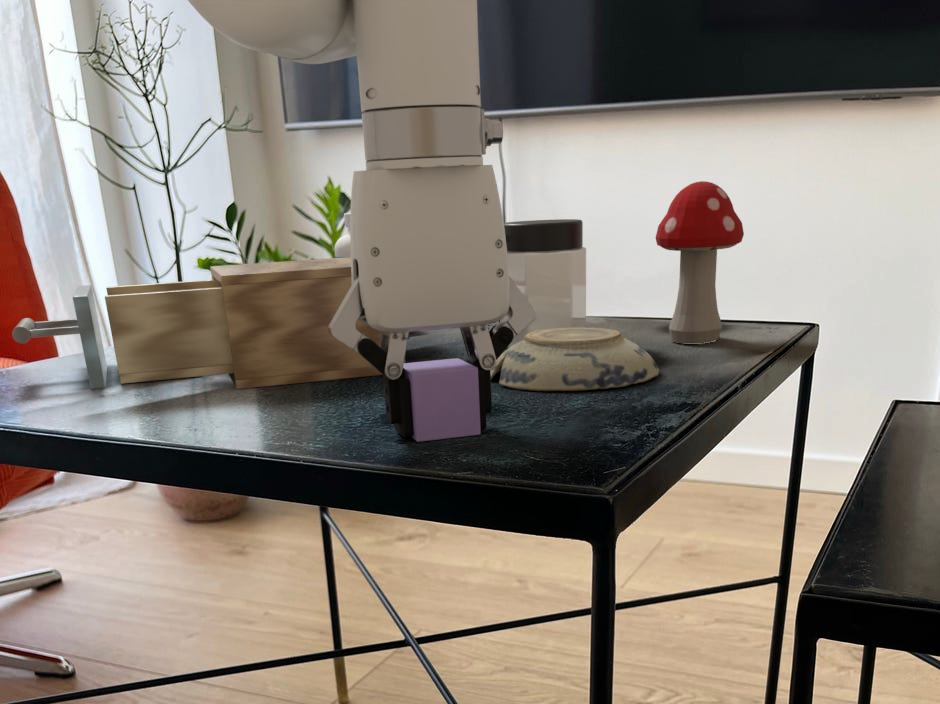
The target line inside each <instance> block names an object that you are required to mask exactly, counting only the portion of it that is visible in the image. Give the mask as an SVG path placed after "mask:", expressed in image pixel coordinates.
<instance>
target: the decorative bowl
mask: <svg viewBox="0 0 940 704" xmlns="http://www.w3.org/2000/svg"><path fill="white" fill-rule="evenodd" d="M499 370H501V371H500V375H499V376H500V378H499V381H498V385H500V386H504V387H506V388H508V389H509V388H510V389H515V390H520V391H521V390H522V391H532V392H560V391H561V392H566V391H568V392H578V391H580V392H582V391H590V390H593V391H595V390H598V389H600V390H607V389H610V388H612V389H613V388H623V387H627V386H631V385H637V384H641V383H645V382H648V381H651V380H652V379H653V378H656V377H658V376H659V374H660V370H659V366H658V365H657V362H655V360H654V358H653V357H652V356H651V354H649V353H648V352H647V351H646V350H645V349H644V348H643V347H642V346H640V345H638V344H637V343H635V342H634V341H632V340H630V339H628V338H625V337H622V333H621V332H620V331H619V330H616V329H611V328H603V327H587V326H586V327H574V328H555V329H545V330H539V331H533V332H530V333H528V334H526V335H525V337H524V340H522V341H520V342H518V343H516V344H515V345H513V346H511V347H510V348H508V349H505V351H504V352H503V353H502V354H501V355H500V357H499V358H498V359H497V360H496V365H495V367H494V368H493V369H491V370H490V374H491V380H492V379H493V378H494V377H495V375H496V374H497V372H498V371H499Z"/></svg>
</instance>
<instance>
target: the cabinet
mask: <svg viewBox="0 0 940 704" xmlns="http://www.w3.org/2000/svg"><path fill="white" fill-rule="evenodd" d="M209 269H210V274H211V275H210V276H211V280H213V279H216V280H217V281H218V282H220V283H221V284H222V292H223V299H224V306H225V313H226V320H227V327H228V334H229V341H230V348H231V355H232V362H233V370H234V373H231V374H228V376H229V378H230V379H231V382H232V383H233V385H234V386H235V388H236V390H241V389H242V390H243V389H253V388H263V387H274V386H282V385H283V386H285V385H294V384H303V383H314V382H325V381H326V382H327V381H337V380H345V379H356V378H364V377H366V378H367V377H376V376H377V377H378V376H383V374H382V373H381V372H379V371H378V370H377V369H376V368H375V367H374V366H373V365H371V364H370V363H369V362H368V361H367V360H366V359H365V358H363V357H362V356H361V355H360V354H359V353H357V352H356V351H354V350H353V349H351V348H349V347H348V346H346V345H345V344H343V343H342V342H340V341H339V340H337V339H335V338H334V337H332V336H331V335H330V334H329V332H328V326H329V324H330V322H331V321H332V319H333V317H334V315H335V314H336V312H337V310H338V308H339V307H340V305H341V303H342V301H343V300H344V298H345V296H346V295H347V293H348V291H349V289H350V288H351V286H352V278H351V257H344V258H335V257H331V258H330V257H329V258H317V259H316V258H315V259H301V260H285V261H271V262H269V261H268V262H255V263H241V264H225V265H210V266H209ZM356 328H357V330H358V331H359V332H360V333H362V334H363V335H365V336H366V337H368V338H369V339H371V340H372V341H374V342H375V343H376V344H377V345H378V346H379V343H380V336H381V332H380V331H377V330H375V329H373V328H372V327H370V326H369V325H366V324H364V323H362V322H360V321H359V320H357V322H356ZM404 363H406V358H405V359H404Z"/></svg>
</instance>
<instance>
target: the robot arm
mask: <svg viewBox="0 0 940 704" xmlns="http://www.w3.org/2000/svg"><path fill="white" fill-rule="evenodd" d="M187 1H188V3H189V4H190V5H191V6H192V7H193V8H194V10H195V11H196V12H197V13H198V14H199V15H200V16H201V17H202V18H203V19H204V20H205V21H206V22H207V23H208V24H209V25H210V26H211V27H212V28H213V29H214V30H216V31H217V33H219V34H221V35H222V36H224V37H225V38H226V39H228V40H229V41H231V42H232V43H234V44H235V45H238V46H239V47H243V48H245V49H249V50H253V51H257V52H259V53H264V54H269V55H272V56H275V57H277V58H280V59H283V60H287V61H291V62H295V63H298V64H303V65H321V64H327V63H332V62H336V61H341V60H344V59H348V58H353V57H356V64H357V72H358V73H357V75H358V76H357V77H358V87H359V88H358V90H359V98H360V99H359V100H360V112H361V123H362V135H363V137H362V138H363V148H364V150H363V151H364V160H365V170H354V171H353V174H352V181H351V193H350V196H351V197H350V212H349V213H350V248H351V278H352V286H351V288H350V289H349V291H348V293H347V295H346V296H345V298H344V300H343V301H342V303H341V305H340V307H339V308H338V310H337V312H336V314H335V315H334V317H333V319H332V321H331V322H330V324H329V326H328V332H329V334H330V335H331V336H332V337H334V338H335V339H337V340H339V341H340V342H342V343H343V344H345V345H346V346H348V347H349V348H351V349H353V350H354V351H356V352H357V353H359V354H360V355H361V356H362V357H363V358H365V359H366V360H367V361H368V362H369V363H370V364H371V365H373V366H374V367H375V368H376V369H377V370H378V371H379V372H381V373H382V374H383V375H382V377H383V378H382V381H383V392H384V393H383V394H384V404H385V405H384V406H385V416H386V421H387V424H388V425H394V430H395V431H396V432H397V433H398V434H399V435H400V436H401V437H403V438H412V435H413V434H414V430H413V415H412V401H411V387H410V381H409V379H407V378H406V377H405V369H404V368H403V365H404V359H405V360H406V352H407V346H408V341H409V339H408V337H409V333H413V332H425V331H438V330H448V329H459V330H460V333H461V337H462V341H463V345H464V348H465V350H466V354H467V357H466V362H467V363H469V364H471V365H473V366H475V367H477V368H478V383H479V407H480V430H483V429H486V428H487V414H491V413H492V410H493V402H492V379H491V374H490V371H491V369H493V368H494V367H495V365H496V360H497V359H498V358H499V357H500V355H501V354H502V353H503V352H505V351H506V350H507V349H506V348H507V347H508V346H509V344H510V343H511V342H512V340H513V338H514V337H515V336H516V335H518V334H519V333H520V332H521V331H523V330H524V329H525V328H526V327H527V326H528V325H529V324H530V323H531V322H532V321H533V320H534V319H535V316H536V313H535V311H534V309H533V308H532V306H531V305H530V304H529V302H528V301H527V299H526V298H525V297H524V295H523V294H522V293H521V291H520V290H519V288H518V287H517V286H516V284H515V283H514V282H513V280H512V279H511V277H510V276H509V267H508V255H507V246H506V237H505V229H504V223H505V222H504V217H503V211H502V204H501V200H500V194H499V189H498V184H497V179H496V174H495V171H494V167H493V164H484V156H483V155H486V154H487V150H486V149H487V147H491V146H492V145H497V144H499V145H500V144H502V142H503V138H504V127H503V123H502V121H501V120H491V119H490V118H486V115H485V109H484V108H481V107H482V102H481V101H482V98H481V74H480V73H481V71H480V53H479V52H480V49H479V23H478V19H479V17H478V0H187ZM502 318H503V319H502ZM501 319H502V321H501V322H500V320H501ZM357 320H359V321H360V322H362V323H364V324H366V325H369V326H370V327H372V328H373V329H375V330H377V331H380V332H381V336H380V343H379V346H378V345H377V344H376V343H375V342H374V341H372V340H371V339H369V338H368V337H366V336H365V335H363V334H362V333H360V332H359V331H358V330H357V328H356V322H357ZM497 322H499V323H497ZM494 323H497V324H495V325H494V326H492V327H491V328H490V330H489V327H488V326H489V325H492V324H494Z"/></svg>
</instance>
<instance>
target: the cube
mask: <svg viewBox="0 0 940 704" xmlns="http://www.w3.org/2000/svg"><path fill="white" fill-rule="evenodd" d="M403 368H404V369H405V377H406V378H407V379H409V381H410V387H411V401H412V415H413V430H414V434H413V435H412V437H411V438H412V439H413V440H415V441H416V442H417V443H421V442H430V441H438V440H446V439H457V438H464V437H474V436H480V435H481V434H482V433H481V431H482V429H480V407H479V383H478V368H477V367H475V366H473V365H471V364H469V363H467V361H465V360H463V359H461V358H458V357H456V358H446V359H445V358H444V359H435V360H424V361H415V362H407V363H406V362H405V363H404V365H403Z"/></svg>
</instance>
